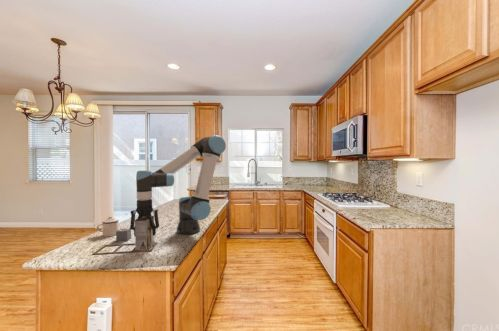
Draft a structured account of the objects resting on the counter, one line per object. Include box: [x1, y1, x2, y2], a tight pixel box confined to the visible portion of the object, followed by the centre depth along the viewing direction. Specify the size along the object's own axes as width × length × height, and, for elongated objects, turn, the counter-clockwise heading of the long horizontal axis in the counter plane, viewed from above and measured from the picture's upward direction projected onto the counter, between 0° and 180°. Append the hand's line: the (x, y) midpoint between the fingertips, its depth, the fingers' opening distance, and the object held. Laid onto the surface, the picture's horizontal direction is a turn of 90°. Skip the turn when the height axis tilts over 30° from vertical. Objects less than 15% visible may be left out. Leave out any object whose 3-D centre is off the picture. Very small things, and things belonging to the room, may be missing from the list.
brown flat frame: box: [92, 241, 158, 256], centre depth 124 cm, size 28×13×1 cm, turn 98°
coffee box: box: [134, 215, 155, 251], centre depth 125 cm, size 9×6×16 cm
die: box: [115, 227, 132, 243], centre depth 138 cm, size 6×6×6 cm
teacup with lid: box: [96, 215, 120, 238], centre depth 148 cm, size 12×9×12 cm
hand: (145, 241), depth 125 cm, fingers closed on coffee box, 7 cm apart
